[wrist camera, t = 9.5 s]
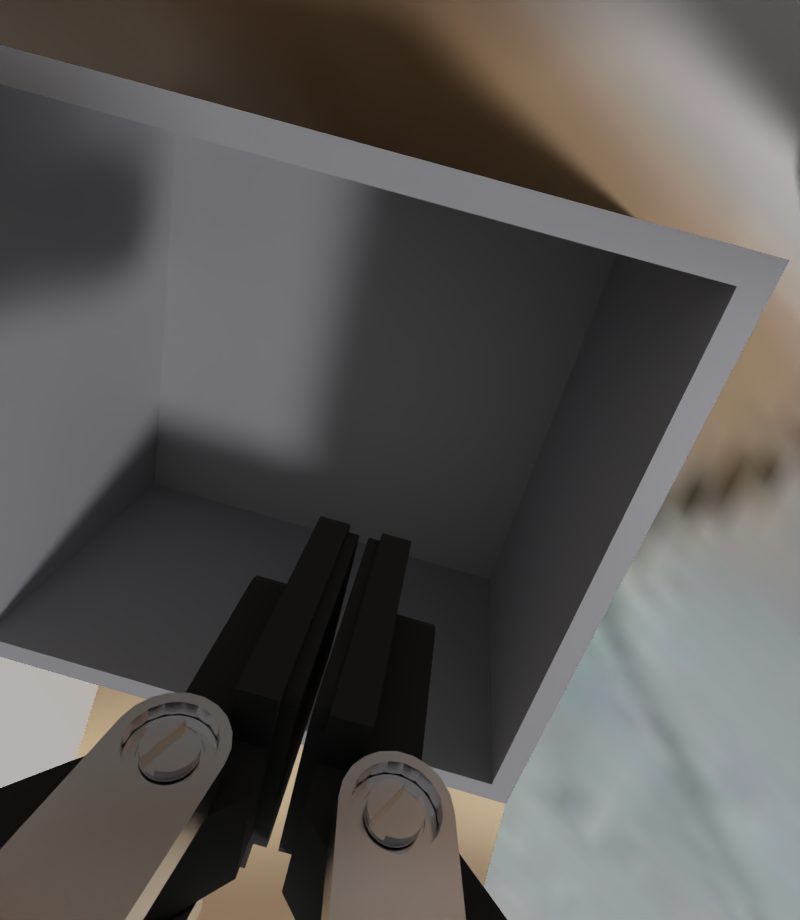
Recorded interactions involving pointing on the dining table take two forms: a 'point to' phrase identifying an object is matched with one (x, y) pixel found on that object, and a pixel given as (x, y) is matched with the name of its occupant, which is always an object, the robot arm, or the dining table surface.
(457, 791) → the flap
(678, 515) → the dining table surface
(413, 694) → the robot arm
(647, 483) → the carton
